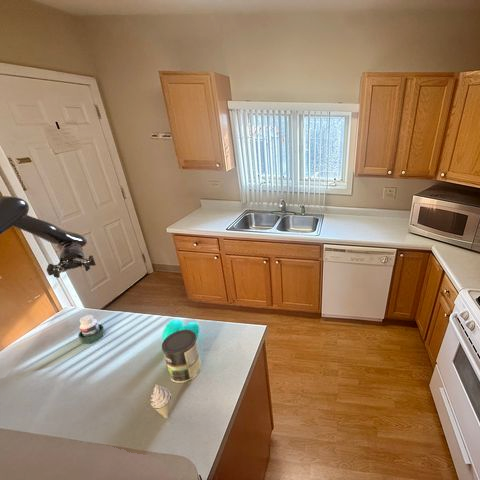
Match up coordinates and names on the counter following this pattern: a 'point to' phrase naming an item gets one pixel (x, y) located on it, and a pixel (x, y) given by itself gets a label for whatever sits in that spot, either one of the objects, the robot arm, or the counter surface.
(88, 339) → the tin
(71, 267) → the robot arm
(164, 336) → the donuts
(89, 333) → the pill bottle
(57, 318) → the counter surface
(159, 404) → the ice cream cone
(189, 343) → the coffee can
